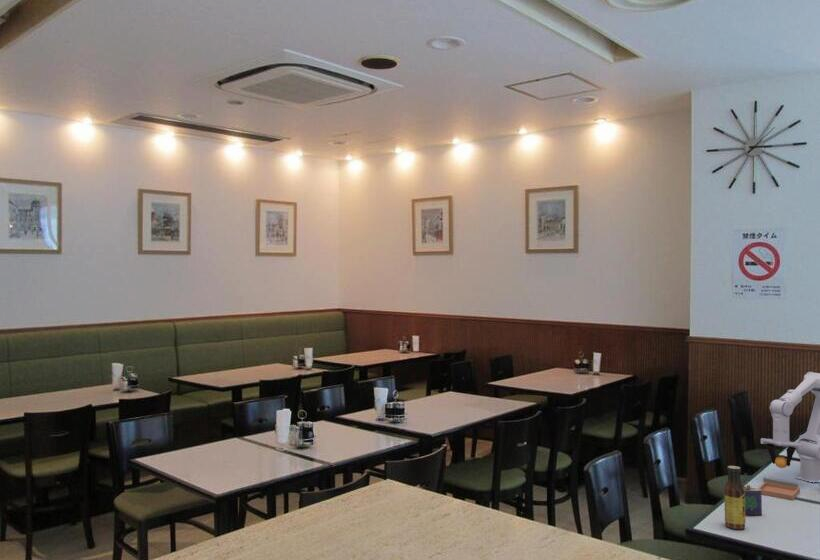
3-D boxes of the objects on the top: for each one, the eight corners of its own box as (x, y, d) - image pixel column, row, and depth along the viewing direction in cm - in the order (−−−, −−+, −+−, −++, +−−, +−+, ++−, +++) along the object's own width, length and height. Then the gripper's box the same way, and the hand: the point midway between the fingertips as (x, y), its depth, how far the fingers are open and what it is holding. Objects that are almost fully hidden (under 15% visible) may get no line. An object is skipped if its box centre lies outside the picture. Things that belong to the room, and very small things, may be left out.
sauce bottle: (747, 531, 219) (747, 470, 219) (727, 529, 220) (727, 469, 220) (742, 523, 225) (741, 465, 225) (722, 522, 227) (722, 464, 226)
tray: (765, 486, 266) (765, 481, 266) (799, 492, 258) (799, 487, 258) (756, 493, 256) (756, 489, 256) (792, 500, 248) (792, 495, 248)
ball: (779, 465, 269) (779, 454, 269) (790, 468, 265) (790, 457, 265) (772, 467, 267) (772, 455, 267) (782, 470, 263) (782, 458, 263)
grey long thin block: (764, 485, 267) (764, 477, 267) (798, 491, 259) (798, 483, 259) (763, 485, 266) (763, 478, 266) (797, 491, 258) (797, 484, 258)
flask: (759, 513, 235) (759, 483, 235) (763, 516, 232) (763, 485, 232) (733, 513, 236) (733, 483, 236) (736, 516, 233) (736, 485, 233)
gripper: (758, 429, 268) (758, 463, 268) (799, 434, 258) (799, 469, 258) (763, 426, 273) (763, 459, 273) (803, 431, 264) (803, 466, 264)
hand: (781, 464), depth 266 cm, fingers closed on ball, 5 cm apart
